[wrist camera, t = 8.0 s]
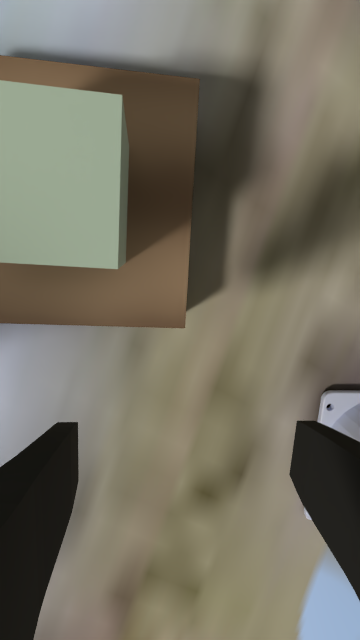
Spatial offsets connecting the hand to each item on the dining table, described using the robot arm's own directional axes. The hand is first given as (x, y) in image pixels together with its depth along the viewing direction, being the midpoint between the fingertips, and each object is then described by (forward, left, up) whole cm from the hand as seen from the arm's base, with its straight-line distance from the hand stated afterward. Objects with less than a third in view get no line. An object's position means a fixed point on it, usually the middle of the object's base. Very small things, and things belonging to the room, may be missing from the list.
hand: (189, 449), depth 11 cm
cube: (+8, +5, -6) cm, 11 cm away
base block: (+8, +5, -9) cm, 13 cm away
